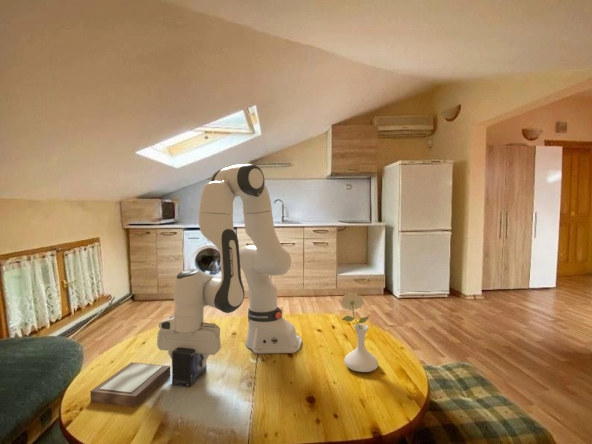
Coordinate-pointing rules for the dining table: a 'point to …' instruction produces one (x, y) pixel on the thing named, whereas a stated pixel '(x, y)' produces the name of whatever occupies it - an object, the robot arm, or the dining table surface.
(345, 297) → the flower in vase
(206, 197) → the robot arm
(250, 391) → the dining table surface
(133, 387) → the walnut picture frame
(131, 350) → the dining table surface
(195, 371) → the small box
